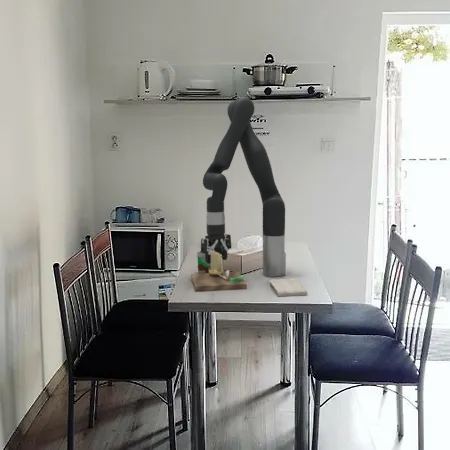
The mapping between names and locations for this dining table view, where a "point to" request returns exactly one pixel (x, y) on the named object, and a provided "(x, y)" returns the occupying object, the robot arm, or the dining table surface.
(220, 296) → the dining table surface
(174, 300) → the dining table surface
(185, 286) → the dining table surface
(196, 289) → the dial board
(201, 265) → the food container
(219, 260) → the tan bar with dome
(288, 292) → the washcloth
